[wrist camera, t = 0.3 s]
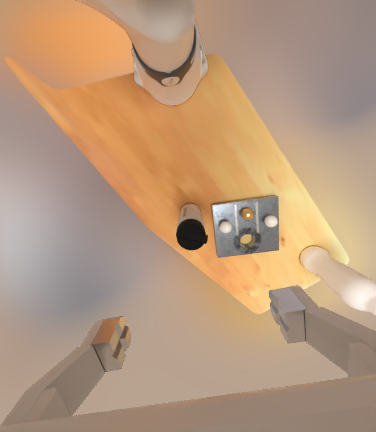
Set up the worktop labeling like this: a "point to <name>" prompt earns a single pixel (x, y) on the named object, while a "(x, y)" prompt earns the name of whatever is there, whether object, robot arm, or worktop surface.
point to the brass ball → (247, 214)
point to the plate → (246, 226)
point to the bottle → (341, 279)
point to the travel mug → (191, 228)
